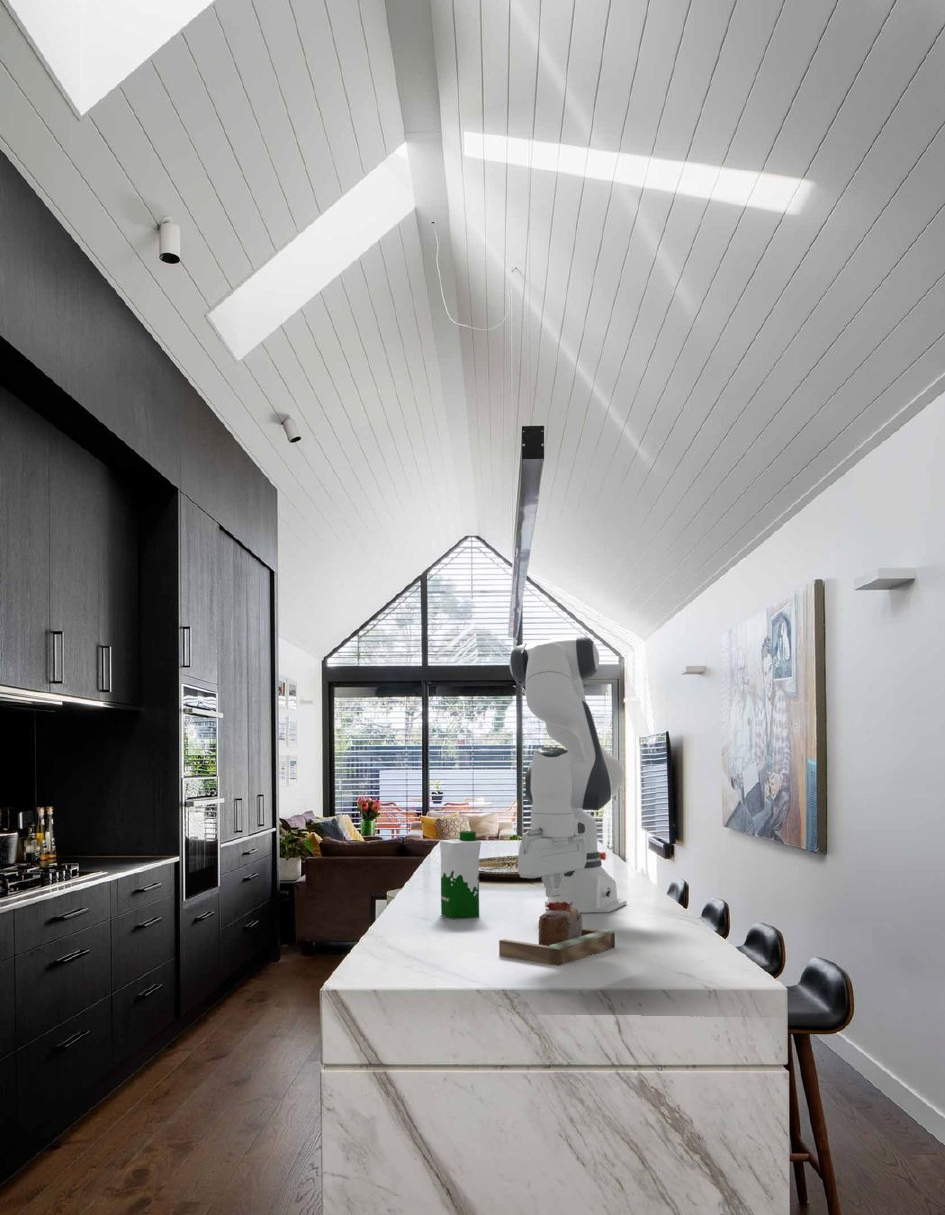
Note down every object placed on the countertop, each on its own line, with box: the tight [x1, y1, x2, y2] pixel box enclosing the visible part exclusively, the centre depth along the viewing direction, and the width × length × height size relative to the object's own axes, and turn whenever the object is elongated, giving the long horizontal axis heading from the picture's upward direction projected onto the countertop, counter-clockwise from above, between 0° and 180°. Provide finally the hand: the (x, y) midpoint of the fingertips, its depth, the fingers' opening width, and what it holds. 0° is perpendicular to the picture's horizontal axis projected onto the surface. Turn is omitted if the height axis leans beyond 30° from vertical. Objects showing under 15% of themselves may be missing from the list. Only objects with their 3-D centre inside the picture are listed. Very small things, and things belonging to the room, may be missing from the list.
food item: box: [538, 901, 583, 946], centre depth 200 cm, size 14×8×10 cm, turn 167°
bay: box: [498, 927, 616, 967], centre depth 199 cm, size 21×14×4 cm, turn 141°
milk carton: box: [439, 830, 482, 920], centre depth 241 cm, size 9×9×20 cm
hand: (553, 896), depth 201 cm, fingers closed
